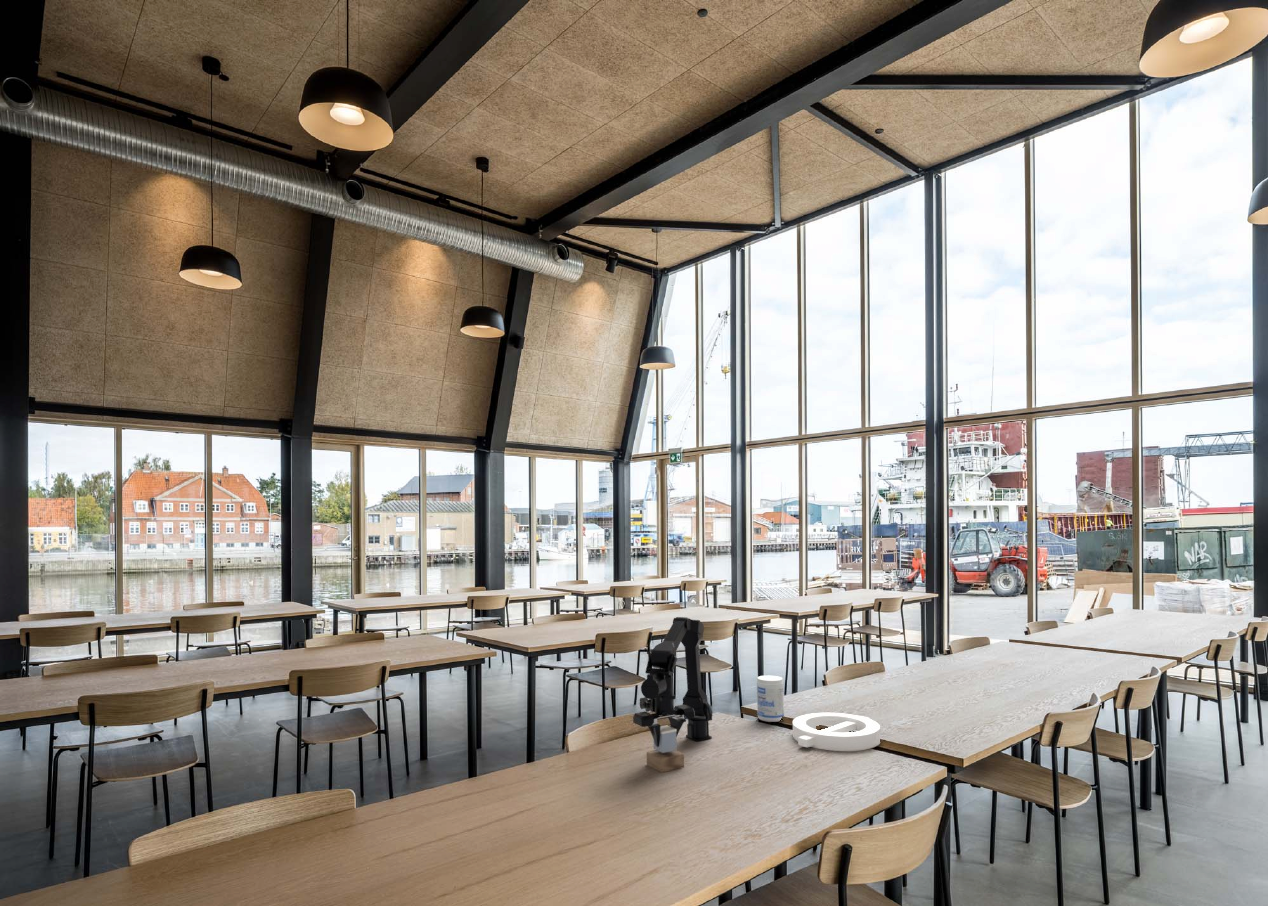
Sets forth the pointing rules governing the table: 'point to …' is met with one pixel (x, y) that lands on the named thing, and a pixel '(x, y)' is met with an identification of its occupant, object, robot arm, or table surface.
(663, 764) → the walnut block
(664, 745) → the white block
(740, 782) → the table surface
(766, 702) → the supplement tub
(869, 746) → the ring with crossbar
